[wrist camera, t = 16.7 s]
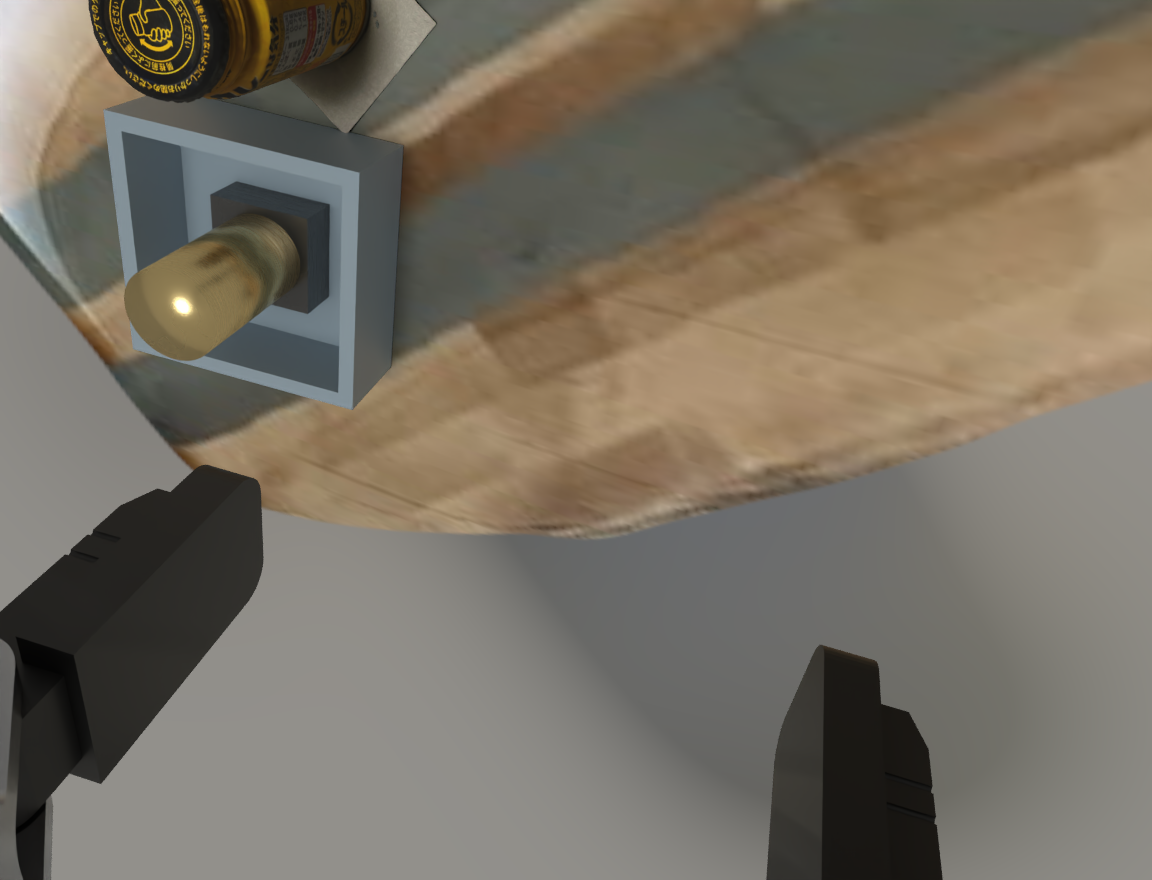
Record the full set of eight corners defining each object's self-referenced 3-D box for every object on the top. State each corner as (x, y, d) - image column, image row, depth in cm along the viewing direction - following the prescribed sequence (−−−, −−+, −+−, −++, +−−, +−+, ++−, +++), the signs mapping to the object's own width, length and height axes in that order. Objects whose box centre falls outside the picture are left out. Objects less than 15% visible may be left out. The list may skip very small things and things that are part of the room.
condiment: (295, -132, 39) (114, -135, 29) (437, 23, 41) (312, 69, 31) (214, -3, 43) (29, 33, 33) (348, 133, 45) (211, 206, 35)
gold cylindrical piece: (236, 181, 47) (109, 246, 39) (329, 204, 46) (220, 275, 38) (240, 273, 50) (123, 352, 42) (328, 296, 49) (227, 381, 41)
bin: (169, 88, 46) (103, 109, 42) (403, 145, 45) (359, 172, 40) (188, 312, 53) (133, 349, 49) (391, 367, 52) (352, 409, 47)
